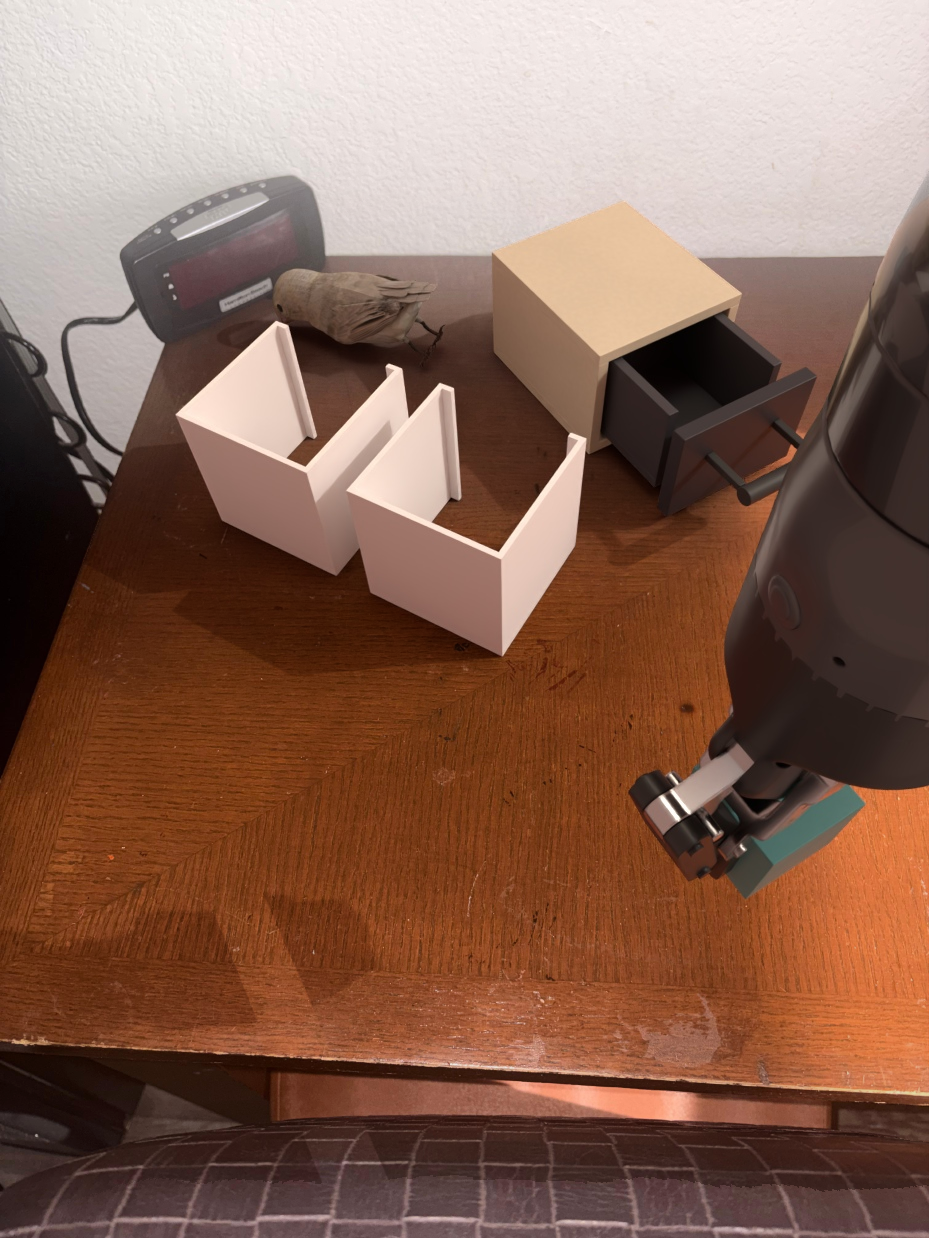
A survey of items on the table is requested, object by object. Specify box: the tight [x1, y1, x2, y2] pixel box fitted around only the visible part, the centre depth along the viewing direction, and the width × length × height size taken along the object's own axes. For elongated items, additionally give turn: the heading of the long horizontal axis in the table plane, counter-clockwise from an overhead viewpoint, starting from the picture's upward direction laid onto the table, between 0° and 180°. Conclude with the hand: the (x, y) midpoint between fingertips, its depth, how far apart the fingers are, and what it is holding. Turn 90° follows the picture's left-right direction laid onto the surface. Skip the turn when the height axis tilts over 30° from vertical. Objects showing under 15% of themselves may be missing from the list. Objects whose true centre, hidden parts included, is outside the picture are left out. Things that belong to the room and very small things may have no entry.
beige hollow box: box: [491, 200, 743, 455], centre depth 69 cm, size 15×13×10 cm
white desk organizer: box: [175, 320, 586, 657], centre depth 60 cm, size 25×11×11 cm, turn 59°
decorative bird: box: [272, 268, 447, 374], centre depth 74 cm, size 5×16×7 cm, turn 68°
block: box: [689, 763, 867, 900], centre depth 33 cm, size 4×4×4 cm
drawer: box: [600, 312, 818, 518], centre depth 63 cm, size 18×12×8 cm, turn 30°
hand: (753, 822), depth 35 cm, fingers closed on block, 4 cm apart
